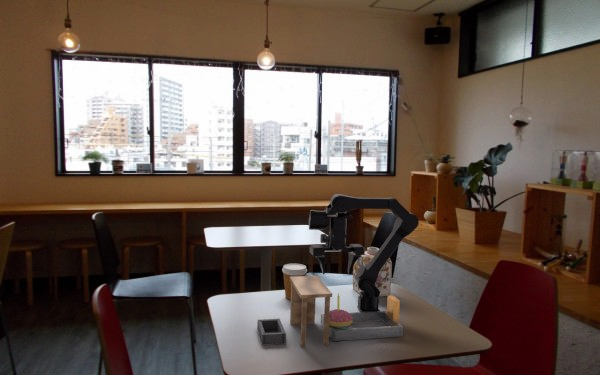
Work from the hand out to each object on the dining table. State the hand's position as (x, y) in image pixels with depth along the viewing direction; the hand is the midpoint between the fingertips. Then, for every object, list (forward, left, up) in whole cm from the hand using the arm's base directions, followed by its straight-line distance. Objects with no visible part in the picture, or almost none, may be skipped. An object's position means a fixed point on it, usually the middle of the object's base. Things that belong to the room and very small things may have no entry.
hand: (336, 273), depth 152 cm
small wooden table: (+14, +18, -13) cm, 26 cm away
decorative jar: (-20, -16, -13) cm, 29 cm away
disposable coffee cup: (+12, -14, -13) cm, 23 cm away
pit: (+26, +18, -13) cm, 34 cm away
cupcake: (+4, +19, -13) cm, 23 cm away
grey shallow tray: (-3, +18, -13) cm, 22 cm away
